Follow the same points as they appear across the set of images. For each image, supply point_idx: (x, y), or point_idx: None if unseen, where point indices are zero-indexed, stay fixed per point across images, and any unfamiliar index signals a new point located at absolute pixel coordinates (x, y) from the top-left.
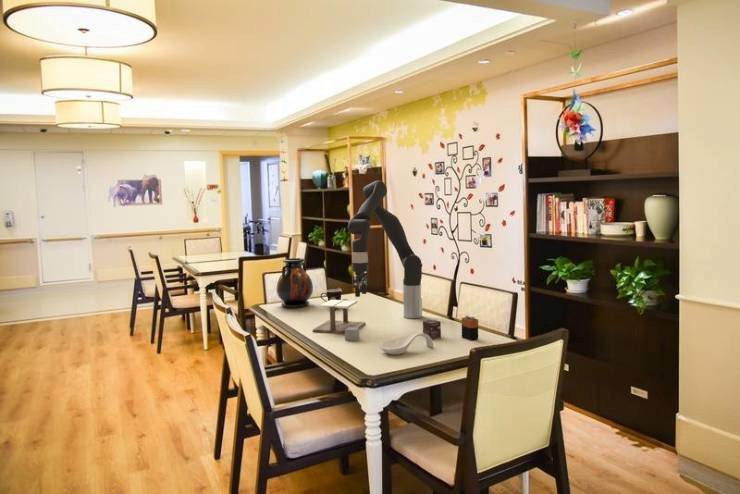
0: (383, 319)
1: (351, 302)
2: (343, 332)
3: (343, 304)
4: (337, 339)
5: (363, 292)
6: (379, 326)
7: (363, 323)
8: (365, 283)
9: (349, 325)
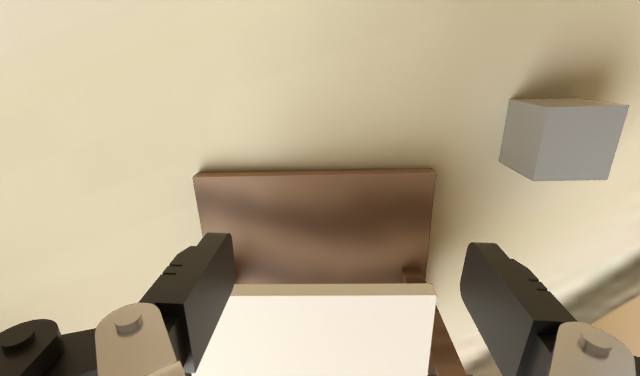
0: (33, 109)
1: (259, 316)
2: (428, 217)
3: (358, 346)
4: (543, 203)
5: (228, 273)
6: (209, 73)
7: (227, 176)
8: (175, 359)
9: (296, 233)
